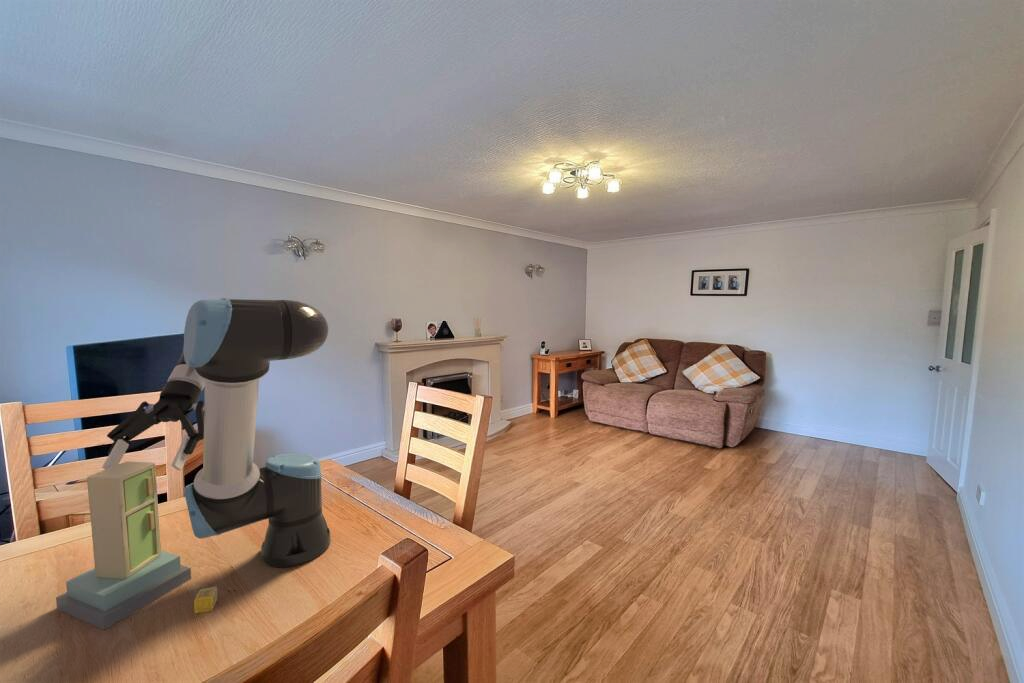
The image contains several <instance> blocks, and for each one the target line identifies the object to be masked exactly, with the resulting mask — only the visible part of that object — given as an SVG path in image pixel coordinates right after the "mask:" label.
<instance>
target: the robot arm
mask: <svg viewBox="0 0 1024 683" xmlns="http://www.w3.org/2000/svg"><path fill="white" fill-rule="evenodd" d="M183 330H184V332H183V340H184V341H183V346H182V347H183V348H182V353H181V355H180V357H179V359H178V360H177V361H178V362H176V363H177V364H176V365H175V367H174V368H173V370H172V371H171V373H170V375H169V376H168V379H167V382H166V383H165V385H164V386H163V388H162V390H161V392H160V393H159V398H158V401H157V402H156V403H148V402H147V401H142V402H141V403H140V405H139V406H138V407H137V409H136V410H134V411H133V412H132V413H131V414H130V415H128V416H127V417H126V418H125V419H123V421H121V422H120V423H119V424H118V425H117V426H115V427H114V428H113V429H112V430H110V432H108V433H107V435H106V438H109V439H110V440H111V441H113V442H112V444H111V446H110V448H109V449H108V451H107V455H108V456H107V458H106V460H105V461H104V462H103V465H102V467H101V468H102V469H103V470H106V469H108V468H111V467H113V466H116V465H118V464H121V463H120V462H121V460H122V459H123V457H124V455H125V454H126V451H127V450H128V448H129V446H130V444H129V443H128V442H130V441H132V440H133V439H135V438H136V437H137V436H139V435H141V434H142V433H145V431H148V429H150V428H151V427H153V426H154V425H159V424H160V423H168V422H173V423H174V422H175V423H177V422H178V421H179V422H180V424H181V425H182V428H183V429H184V430H185V433H186V434H187V435H186V436H188V437H189V438H188V437H183V439H182V442H181V443H180V445H179V448H178V450H177V451H176V454H175V456H174V459H173V460H172V462H171V465H170V466H171V467H173V468H174V469H175V470H176V471H182V470H183V467H184V465H185V463H186V462H187V459H188V457H189V455H192V454H193V453H194V451H195V448H196V447H197V445H198V443H199V442H200V441H201V440H203V462H202V463H203V465H202V466H203V467H202V468H201V469H200V470H199V471H198V472H197V473H196V475H195V476H194V480H193V482H192V483H189V484H187V485H186V486H185V487H184V489H183V493H184V498H185V502H186V507H187V510H188V511H187V512H188V515H189V520H190V525H191V528H192V532H193V535H194V537H196V538H198V539H206V538H210V537H213V536H220V535H222V534H225V533H227V532H230V531H234V530H237V529H241V528H244V527H246V526H247V527H248V526H249V525H250V526H251V525H252V524H256V523H259V522H262V521H265V520H268V525H267V528H266V532H265V536H264V540H263V542H262V544H261V549H260V553H261V554H260V555H261V556H260V557H261V558H260V559H261V561H262V562H263V564H265V565H266V566H268V567H274V568H290V567H294V566H299V565H302V564H305V563H308V562H310V561H312V560H314V559H316V558H318V557H319V556H320V555H322V554H323V553H325V552H326V551H327V550H328V549H329V547H330V545H331V541H332V539H331V530H330V528H329V527H328V524H327V521H326V519H325V517H324V514H323V503H322V502H323V500H322V499H323V497H322V495H323V494H322V476H323V475H322V470H321V462H320V460H319V458H317V457H316V456H314V455H312V454H308V453H307V454H306V453H301V452H300V453H299V452H297V453H295V452H293V453H281V454H276V455H273V456H272V457H271V456H270V457H269V458H267V459H266V462H265V463H264V467H258V465H257V464H256V463H255V462H254V451H255V439H256V438H255V437H256V424H257V414H258V413H257V411H258V398H259V386H260V379H262V378H264V377H265V376H267V374H268V373H269V371H270V364H271V363H270V362H273V361H283V360H292V359H299V358H302V357H305V356H308V355H310V354H312V353H314V352H316V351H317V350H319V349H320V348H321V347H322V346H323V345H324V343H325V342H326V340H327V338H328V334H329V324H328V321H327V319H326V318H325V316H324V315H323V313H322V312H321V311H320V310H318V309H317V308H315V307H313V306H312V305H309V304H308V303H305V302H301V301H298V300H289V299H242V298H241V299H233V298H226V297H223V298H217V299H214V298H213V299H200V300H197V301H196V302H194V303H193V304H192V305H191V306H190V308H189V310H188V313H187V316H186V319H185V325H184V329H183ZM203 391H204V401H203V400H199V399H200V397H201V395H202V392H203ZM193 411H195V418H196V426H197V431H196V429H195V427H194V426H193V423H192V421H191V419H190V417H189V415H188V414H190V413H192V412H193ZM154 416H155V417H156V418H155V417H154Z"/></svg>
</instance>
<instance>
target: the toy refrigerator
mask: <svg viewBox="0 0 1024 683" xmlns="http://www.w3.org/2000/svg"><path fill="white" fill-rule="evenodd" d="M156 471H157V470H156V463H155V462H149V461H124V462H121V463H119V464H118V465H116V466H113V467H111V468H108V469H106V470H105V469H103V470H100V471H98V472H95V473H93V474H91V475H89V476H87V479H86V482H87V485H86V486H87V492H88V493H87V494H88V505H89V506H88V507H89V516H90V526H91V538H92V547H93V548H92V550H93V560H94V568H95V573H96V577H98V578H114V579H127V578H128V577H130V576H131V575H133V574H134V573H136V572H137V571H139V570H140V569H142V568H143V567H145V566H146V565H148V564H149V563H151V562H152V561H154V560H155V559H157V558H158V557H159V556H161V550H162V543H161V530H160V519H159V518H160V516H159V514H160V513H159V503H158V486H157V473H156Z"/></svg>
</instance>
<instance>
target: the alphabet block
mask: <svg viewBox="0 0 1024 683" xmlns="http://www.w3.org/2000/svg"><path fill="white" fill-rule="evenodd" d="M193 599H194V600H193V606H194V607H193V608H194V614H199V613H198V612H200V613H204V612H203V611H205V612H208V611H213V609H215V608H214V607H215V605H216V603H217V601H218V587H217V586H212V587H205V588H200V589H199V590H198V592H197V594H196V596H195V598H193Z"/></svg>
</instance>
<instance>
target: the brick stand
mask: <svg viewBox="0 0 1024 683" xmlns="http://www.w3.org/2000/svg"><path fill="white" fill-rule="evenodd" d="M191 570H192V569H191V567H190V566H185V565H182V564H181V556H180V555H178V554H174V553H171V552H168V551H165V550H162V549H161V556H159V557H158V558H157V559H155V560H154V561H152V562H151V563H149V564H148V565H146V566H145V567H143V568H142V569H140V570H139V571H137V572H136V573H134V574H133V575H131V576H130V577H128V578H127V579H114V578H98V577H96V573H95V567H94V568H92V569H90V570H87V571H85V572H83V573H81V574H79V575H77V576H75V577H72V578H70V579H68V580H66V581H65V583H66V591H65V593H62V594H60V595H58V596H56V597H55V602H56V610H58V611H60V612H62V613H64V614H67V615H69V616H70V617H71V616H72V617H74V618H76V619H78V620H80V619H81V620H80V621H82V622H83V621H84V622H85V623H87V622H88V624H90V625H92V624H93V625H92V626H95V627H96V626H97V627H96V628H99V629H101V630H103V629H105V630H106V628H107V629H109V628H110V627H112V626H114V625H115V624H117V623H119V622H120V621H122V620H124V619H125V618H127V617H129V616H131V615H132V614H134V613H135V612H137V611H139V610H141V609H142V608H144V607H145V606H147V605H149V604H151V603H152V602H155V601H156V600H157V599H160V598H161V597H163V596H165V595H166V594H168V593H170V592H171V591H173V590H175V589H176V588H178V587H179V586H181V585H183V584H185V583H186V582H188V581H190V580H191V579H192V571H191ZM121 619H122V620H121ZM118 621H119V622H118ZM116 622H117V623H116ZM111 625H112V626H111Z"/></svg>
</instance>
